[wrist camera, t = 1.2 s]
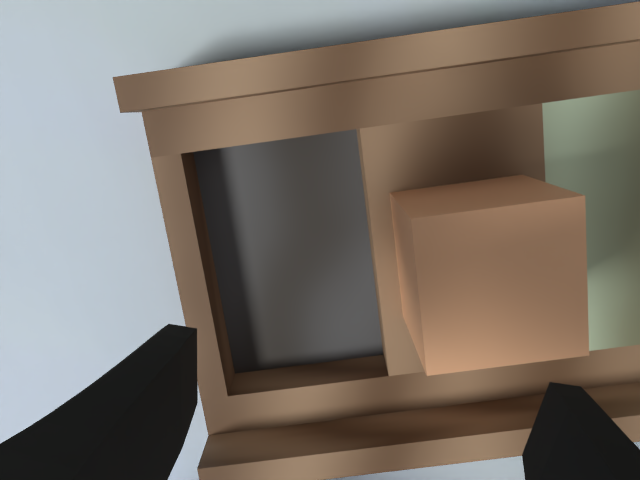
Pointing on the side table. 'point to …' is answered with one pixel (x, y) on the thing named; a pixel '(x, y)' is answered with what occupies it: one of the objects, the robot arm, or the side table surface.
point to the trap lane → (385, 233)
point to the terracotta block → (492, 273)
